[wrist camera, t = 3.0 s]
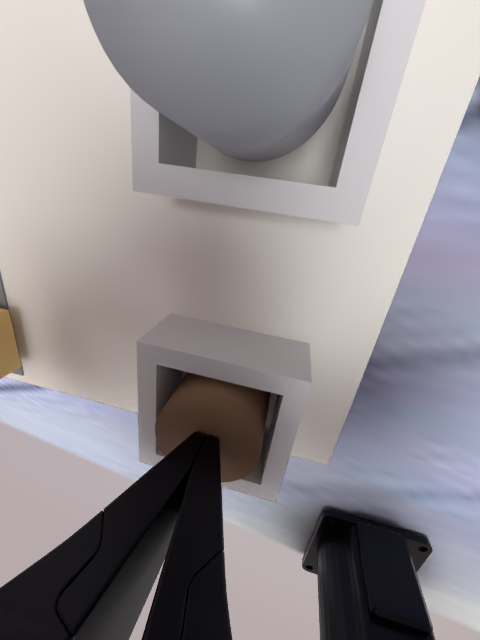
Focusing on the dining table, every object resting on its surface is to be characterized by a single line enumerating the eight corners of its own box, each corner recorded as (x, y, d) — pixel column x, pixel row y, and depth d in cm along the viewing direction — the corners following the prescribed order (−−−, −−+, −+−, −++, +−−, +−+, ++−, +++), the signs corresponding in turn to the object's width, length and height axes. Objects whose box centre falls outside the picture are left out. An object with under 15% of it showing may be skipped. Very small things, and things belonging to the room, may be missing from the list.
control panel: (323, 418, 15) (333, 523, 10) (-14, 333, 18) (-134, 382, 13) (457, 30, 8) (675, -218, 4) (-108, -3, 11) (-420, -161, 7)
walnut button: (262, 430, 12) (250, 494, 9) (186, 409, 13) (154, 465, 10) (278, 361, 11) (269, 415, 8) (191, 342, 11) (155, 385, 8)
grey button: (324, 171, 6) (342, 144, 3) (174, 151, 7) (83, 114, 4) (380, -69, 5) (490, -452, 2) (180, -70, 5) (43, -380, 2)
